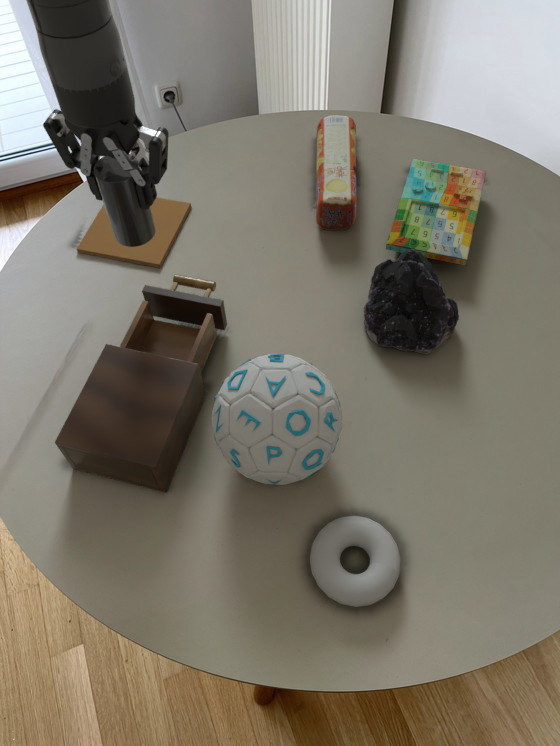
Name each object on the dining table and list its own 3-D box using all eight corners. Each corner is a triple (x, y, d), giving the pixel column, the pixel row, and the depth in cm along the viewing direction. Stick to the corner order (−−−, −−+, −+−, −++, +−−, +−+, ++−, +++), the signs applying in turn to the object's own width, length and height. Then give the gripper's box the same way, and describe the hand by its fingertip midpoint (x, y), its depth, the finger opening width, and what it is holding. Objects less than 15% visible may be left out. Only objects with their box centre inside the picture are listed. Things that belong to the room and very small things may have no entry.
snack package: (356, 232, 102) (358, 199, 96) (313, 232, 102) (314, 199, 97) (354, 146, 114) (356, 112, 108) (316, 146, 114) (317, 112, 109)
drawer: (163, 287, 96) (156, 262, 92) (236, 302, 94) (232, 277, 90) (114, 385, 87) (104, 363, 82) (195, 403, 85) (189, 381, 80)
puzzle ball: (213, 502, 78) (195, 444, 65) (226, 395, 86) (212, 325, 74) (340, 507, 77) (346, 449, 65) (340, 398, 85) (346, 328, 73)
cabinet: (119, 374, 89) (105, 343, 83) (206, 393, 87) (198, 363, 81) (72, 468, 81) (54, 442, 75) (166, 492, 79) (155, 467, 73)
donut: (310, 521, 76) (309, 609, 71) (310, 510, 73) (309, 600, 68) (395, 523, 76) (401, 611, 70) (399, 511, 73) (405, 602, 67)
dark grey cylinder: (107, 242, 81) (85, 177, 72) (124, 214, 83) (105, 148, 75) (145, 250, 80) (128, 186, 71) (162, 221, 82) (146, 156, 74)
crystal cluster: (427, 378, 87) (448, 332, 79) (340, 331, 91) (352, 282, 83) (465, 316, 94) (489, 268, 86) (383, 275, 98) (398, 225, 90)
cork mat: (77, 252, 102) (76, 248, 101) (113, 193, 109) (112, 189, 109) (160, 268, 99) (159, 264, 99) (191, 206, 107) (190, 202, 106)
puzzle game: (487, 166, 103) (468, 255, 92) (481, 189, 106) (461, 278, 96) (414, 153, 105) (387, 239, 95) (410, 177, 109) (383, 262, 98)
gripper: (169, 54, 64) (193, 190, 78) (39, 34, 66) (85, 169, 81) (139, 98, 60) (169, 233, 74) (2, 75, 62) (56, 210, 77)
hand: (125, 199), depth 77 cm, fingers closed on dark grey cylinder, 5 cm apart
